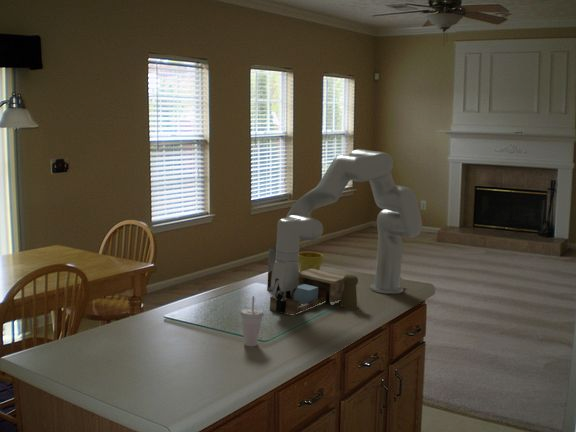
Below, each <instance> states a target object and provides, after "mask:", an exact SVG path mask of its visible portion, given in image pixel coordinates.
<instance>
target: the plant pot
mask: <svg viewBox="0 0 576 432" xmlns="http://www.w3.org/2000/svg"><path fill="white" fill-rule="evenodd" d="M323 261H324V254H321V253H319V252H314V251H301V252H300V251H299V260H298V263H299V272H301V271H305V270H308V269H316V270H320V269H321V266H322V265H323V263H324V262H323Z"/></svg>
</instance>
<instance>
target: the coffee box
mask: <svg viewBox="0 0 576 432" xmlns="http://www.w3.org/2000/svg"><path fill="white" fill-rule="evenodd" d="M275 261H276V244H273V245H272V246H270V247H269V248H268V264H267V269H268V270H267V286H266V290H267V291H271V292H273V290H271V279H272V271H273V266H274V262H275ZM280 290H281V289H280Z"/></svg>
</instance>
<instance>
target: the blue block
mask: <svg viewBox="0 0 576 432" xmlns="http://www.w3.org/2000/svg"><path fill="white" fill-rule="evenodd" d="M316 299H318V287H315V286H311V285H306V284H302V285H299V286H298V287H297V289H296V290H295V292H294V300H297V301H299V304H306V303H309V302H311V301H314V300H316Z"/></svg>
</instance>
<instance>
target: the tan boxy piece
mask: <svg viewBox="0 0 576 432" xmlns="http://www.w3.org/2000/svg"><path fill="white" fill-rule="evenodd" d="M344 276H346V275H345V274H339V273H334V272H329V271H325V270H316V269H308V270H305V271H301V272H300V271H299V281H298V286H299V285H302V284H306V285H311V286H315V287H318V290H321V291H326V292H327V297H329V299H328V300H329V301H328V303H329V302H335V301H338V300H341V297H342V293H343V288H344V283H343V278H344Z"/></svg>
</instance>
